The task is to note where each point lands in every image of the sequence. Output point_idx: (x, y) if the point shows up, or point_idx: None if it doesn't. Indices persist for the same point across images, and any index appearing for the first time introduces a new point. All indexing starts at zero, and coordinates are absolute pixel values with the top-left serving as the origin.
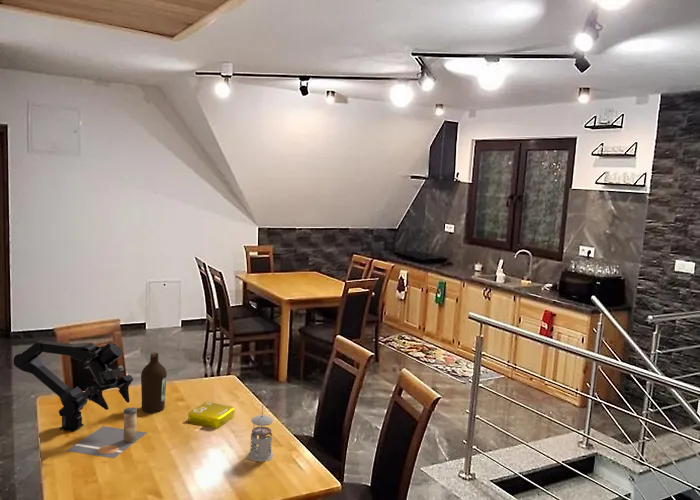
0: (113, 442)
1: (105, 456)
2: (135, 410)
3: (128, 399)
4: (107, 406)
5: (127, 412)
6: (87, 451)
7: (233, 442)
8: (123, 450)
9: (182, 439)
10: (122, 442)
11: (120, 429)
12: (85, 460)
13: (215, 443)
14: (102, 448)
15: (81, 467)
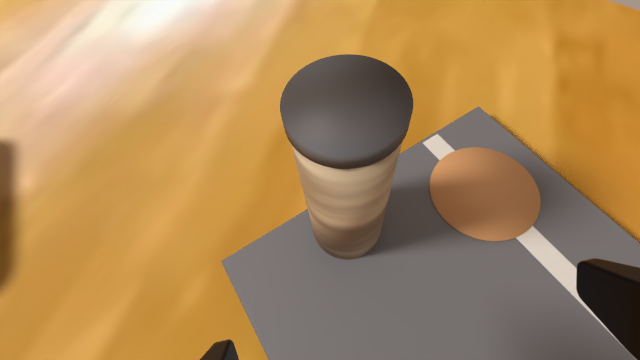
0: (434, 256)
1: (511, 138)
2: (314, 66)
3: (214, 357)
4: (614, 270)
5: (393, 71)
6: (597, 237)
7: (57, 36)
8: (418, 144)
9: (142, 141)
10: (390, 225)
11: None
12: (595, 200)
13: (97, 56)
14: (510, 219)
15: (617, 150)
